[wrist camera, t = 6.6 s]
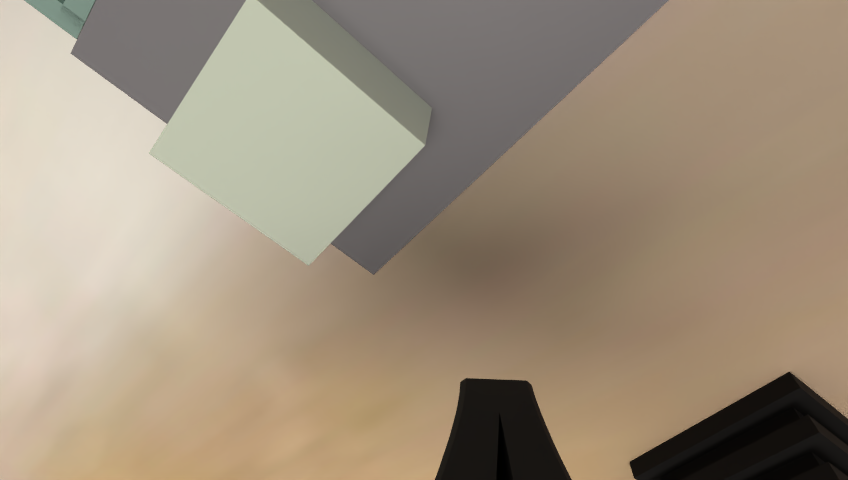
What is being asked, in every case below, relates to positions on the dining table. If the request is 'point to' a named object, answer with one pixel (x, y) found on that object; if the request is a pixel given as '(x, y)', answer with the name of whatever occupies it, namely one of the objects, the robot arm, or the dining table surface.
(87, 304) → the dining table surface
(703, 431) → the chess piece
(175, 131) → the sage tile
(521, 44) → the charcoal board
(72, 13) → the tray
